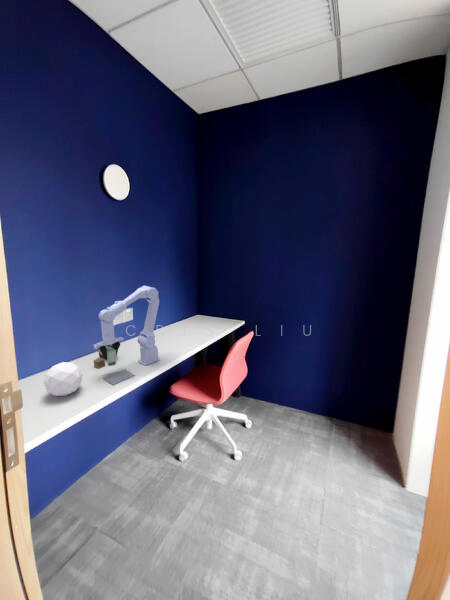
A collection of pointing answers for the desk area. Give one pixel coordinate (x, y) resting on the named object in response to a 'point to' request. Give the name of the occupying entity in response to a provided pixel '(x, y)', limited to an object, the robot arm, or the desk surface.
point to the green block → (111, 355)
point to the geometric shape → (63, 379)
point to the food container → (101, 352)
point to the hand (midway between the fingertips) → (110, 357)
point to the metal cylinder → (112, 363)
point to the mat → (118, 377)
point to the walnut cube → (99, 363)
